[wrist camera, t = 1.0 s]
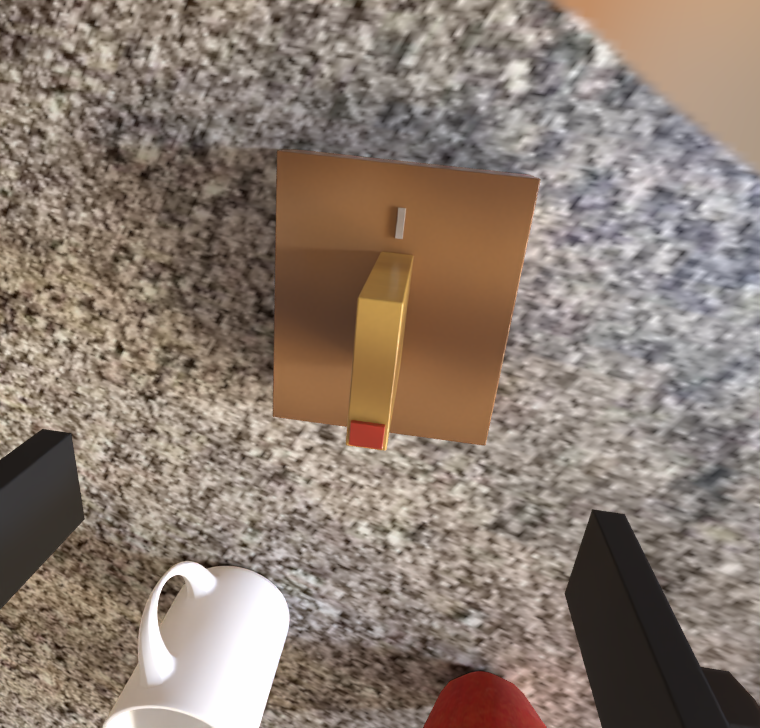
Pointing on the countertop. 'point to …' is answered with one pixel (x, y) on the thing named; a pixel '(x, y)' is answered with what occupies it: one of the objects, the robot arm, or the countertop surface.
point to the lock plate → (427, 287)
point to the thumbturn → (378, 350)
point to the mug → (206, 652)
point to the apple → (482, 704)
